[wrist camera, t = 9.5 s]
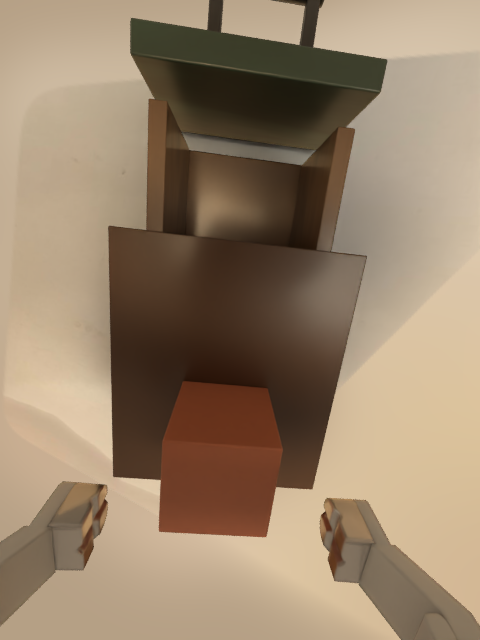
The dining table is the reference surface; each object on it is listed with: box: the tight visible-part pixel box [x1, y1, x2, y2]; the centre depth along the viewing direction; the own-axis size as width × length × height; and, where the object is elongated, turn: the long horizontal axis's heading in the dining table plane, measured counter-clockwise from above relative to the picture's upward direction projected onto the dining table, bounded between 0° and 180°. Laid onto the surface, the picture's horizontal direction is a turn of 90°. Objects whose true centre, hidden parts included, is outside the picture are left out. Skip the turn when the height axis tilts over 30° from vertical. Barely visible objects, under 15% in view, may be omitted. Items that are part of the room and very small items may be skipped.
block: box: [159, 381, 283, 537], centre depth 13 cm, size 4×4×4 cm
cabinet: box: [108, 226, 367, 489], centre depth 19 cm, size 14×12×10 cm
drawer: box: [130, 0, 387, 252], centre depth 16 cm, size 17×10×8 cm, turn 174°
